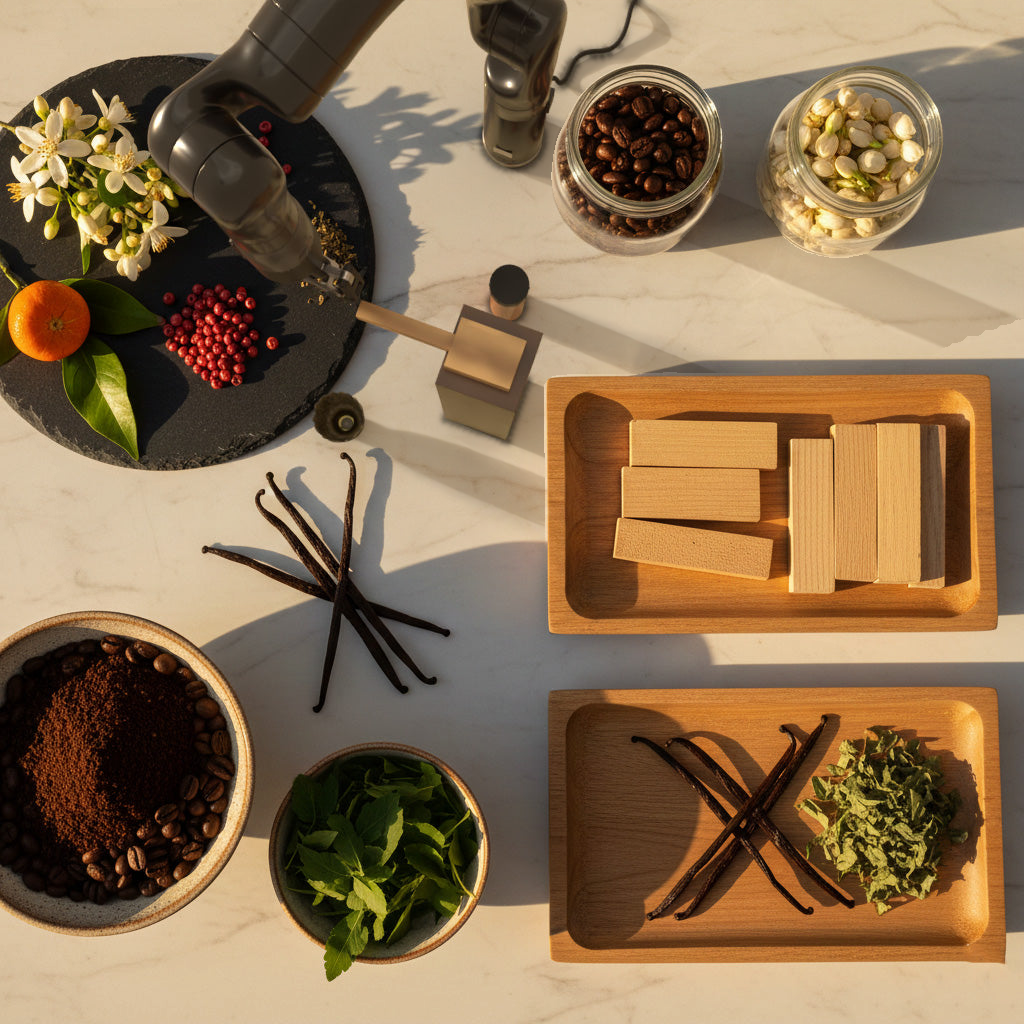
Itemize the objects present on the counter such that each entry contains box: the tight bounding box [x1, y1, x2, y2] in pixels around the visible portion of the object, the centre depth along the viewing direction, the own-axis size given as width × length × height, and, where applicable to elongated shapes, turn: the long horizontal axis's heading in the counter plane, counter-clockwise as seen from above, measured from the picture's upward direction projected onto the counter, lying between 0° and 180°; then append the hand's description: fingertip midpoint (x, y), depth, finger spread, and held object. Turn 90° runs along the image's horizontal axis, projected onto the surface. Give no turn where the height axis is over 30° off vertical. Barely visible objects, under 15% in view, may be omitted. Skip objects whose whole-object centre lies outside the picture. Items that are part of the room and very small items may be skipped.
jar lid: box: [488, 263, 531, 308], centre depth 115 cm, size 6×6×2 cm
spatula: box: [355, 299, 527, 392], centre depth 93 cm, size 6×20×2 cm, turn 70°
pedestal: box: [434, 303, 544, 441], centre depth 109 cm, size 10×10×31 cm
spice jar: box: [489, 295, 526, 322], centre depth 120 cm, size 5×5×10 cm
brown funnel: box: [312, 391, 366, 444], centre depth 120 cm, size 8×7×8 cm
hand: (313, 281), depth 96 cm, fingers open, 8 cm apart
